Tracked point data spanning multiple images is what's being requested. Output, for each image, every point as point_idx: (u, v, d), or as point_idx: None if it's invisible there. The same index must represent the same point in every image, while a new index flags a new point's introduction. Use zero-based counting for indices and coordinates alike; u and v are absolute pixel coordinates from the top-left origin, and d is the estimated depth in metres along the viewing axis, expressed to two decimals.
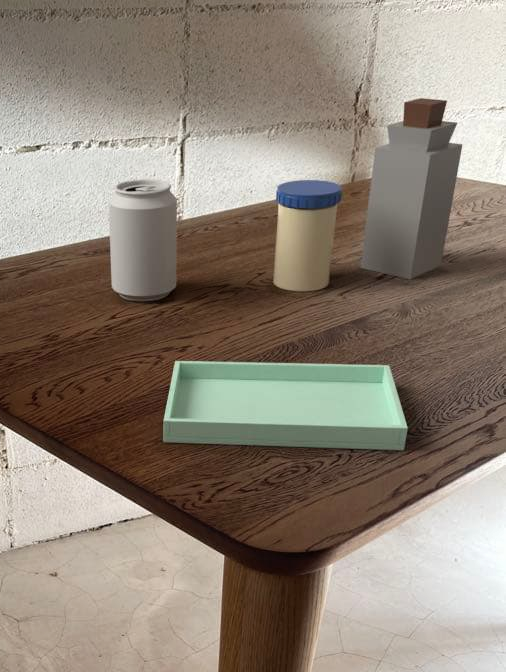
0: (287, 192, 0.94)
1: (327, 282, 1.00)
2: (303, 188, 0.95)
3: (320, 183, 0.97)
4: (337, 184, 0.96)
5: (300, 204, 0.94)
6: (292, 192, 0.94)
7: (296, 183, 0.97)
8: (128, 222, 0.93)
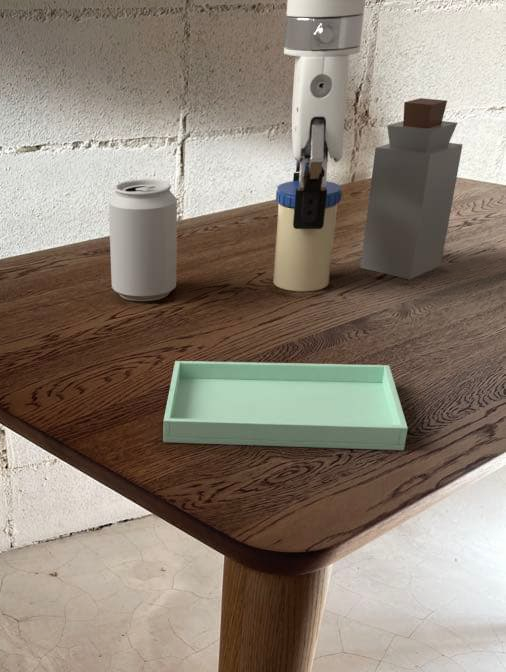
0: (287, 192, 0.94)
1: (327, 282, 1.00)
2: None
3: None
4: (337, 184, 0.96)
5: None
6: (292, 192, 0.94)
7: (296, 183, 0.97)
8: (128, 222, 0.93)
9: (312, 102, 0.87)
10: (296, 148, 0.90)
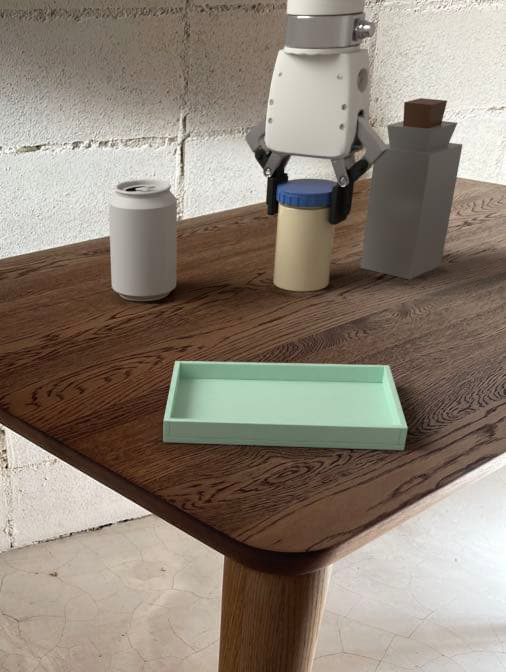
0: (316, 193, 0.93)
1: (327, 282, 1.00)
2: (310, 187, 0.95)
3: (300, 181, 0.97)
4: None
5: None
6: (319, 192, 0.93)
7: (288, 186, 0.96)
8: (128, 222, 0.93)
9: (358, 96, 0.87)
10: (345, 144, 0.89)
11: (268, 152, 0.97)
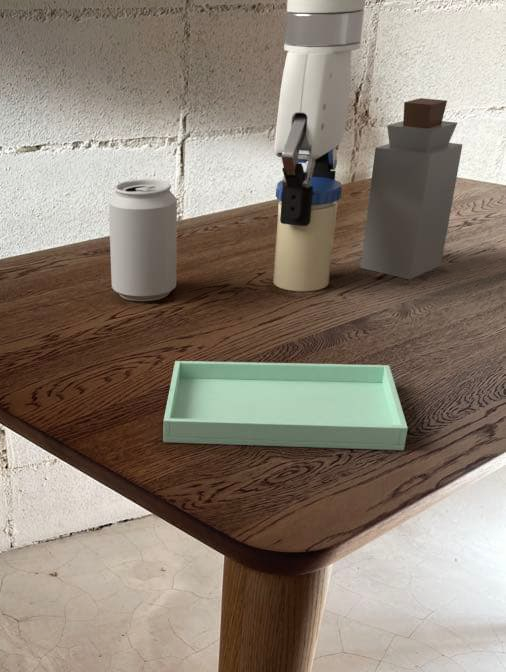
0: (336, 181, 0.96)
1: (327, 282, 1.00)
2: (316, 183, 0.96)
3: None
4: (278, 184, 0.96)
5: None
6: (332, 181, 0.96)
7: (315, 189, 0.94)
8: (128, 222, 0.93)
9: None
10: (344, 129, 0.95)
11: None
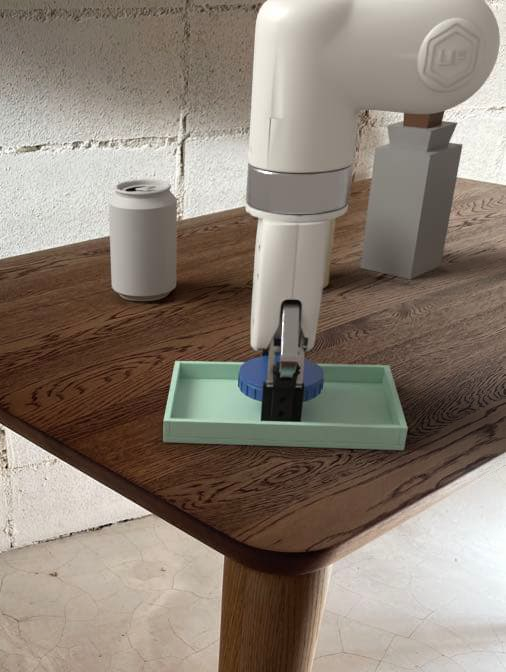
0: (309, 361, 0.74)
1: (327, 282, 1.00)
2: None
3: (265, 379, 0.71)
4: (243, 376, 0.72)
5: None
6: None
7: None
8: (128, 222, 0.93)
9: None
10: None
11: None
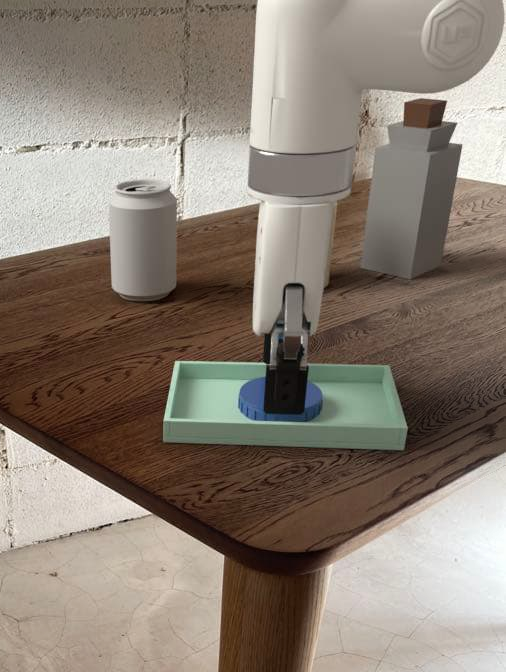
0: (308, 382, 0.75)
1: (327, 282, 1.00)
2: None
3: None
4: (243, 397, 0.73)
5: None
6: None
7: None
8: (128, 222, 0.93)
9: None
10: None
11: None
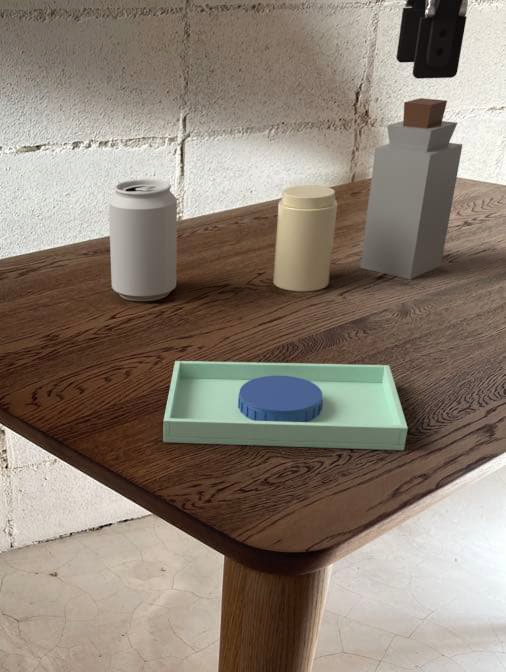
0: (308, 382, 0.75)
1: (327, 282, 1.00)
2: (288, 390, 0.74)
3: (265, 400, 0.73)
4: (243, 397, 0.73)
5: None
6: (302, 382, 0.75)
7: (297, 402, 0.72)
8: (128, 222, 0.93)
9: None
10: None
11: None
